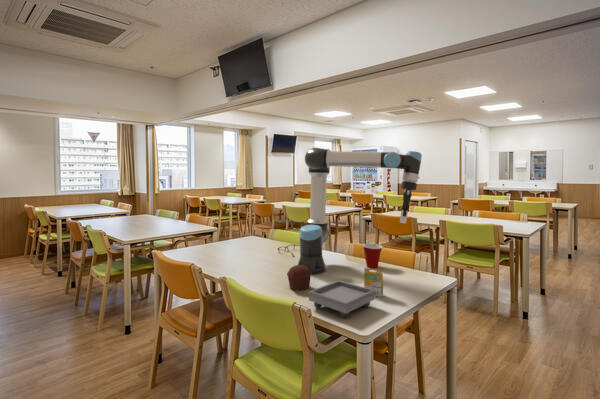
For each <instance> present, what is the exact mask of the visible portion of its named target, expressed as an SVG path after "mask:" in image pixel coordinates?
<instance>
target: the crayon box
mask: <svg viewBox="0 0 600 399" xmlns="http://www.w3.org/2000/svg"><path fill="white" fill-rule="evenodd" d="M363 271H364V273H363V274H364V276H363V277H364V278H363V279H364V281H363V282H364V285H363V287H365V288H368V289H372V290H375V297H379V298H382V297H383V295H384V289H383V288H384V283H383V282H384V278H383V277H384V275H383V274H384V273H383V272H382V269H377V268H368V267H367V268H366V267H364V270H363Z"/></svg>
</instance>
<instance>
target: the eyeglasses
mask: <svg viewBox="0 0 600 399" xmlns="http://www.w3.org/2000/svg"><path fill="white" fill-rule="evenodd" d="M290 246H291V244H289V245H287V246H284V249H283V251H284V252H286V251H287V250H288V251H287V252H288V253H290V254H291V255H292V257H293V258H295V255H294V254H293V253H292V252H290V251H289V247H290ZM295 246H299V247H300V244H299V245H298V244H293V251H294V250H295ZM280 248H282V246H280V247H278V248H277V250H278V253H281V252H280V251H282V249H280Z"/></svg>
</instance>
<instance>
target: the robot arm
mask: <svg viewBox="0 0 600 399" xmlns="http://www.w3.org/2000/svg"><path fill="white" fill-rule="evenodd" d="M422 157H423V154H422V153H421V152H418V151H412V150H409V151H407V152H406V154H402V153H401V154H400V153H398V152H396V151H340V150H339V151H333V150H331V149H329V148H328V149H325V148H321V147H320V148H319V147H312V148H310V149H308V151H307V152H306V153H305V156H304V162H305V165H306V166H307V167H308V174H309V175H310V203H309V204H310V205H309V206H310V207H309V219H308V220H307V221H306V225H303V226H301V227H300V229H299V234H298V235H299V245H300V246H299V254H300V255H299V260H298V263H297V265H303V266H305V267H307V268H308V269H309V270H310V271H311V273H312V274H311V275H318V274H323V273H325V272H326V269H327V267H326V266H327V265H326V263H325V261H324V257H323V244H324V243H326V241H327V240H328V239H329V236H330V231H329V227H328V226H329V223H328V221H327V219H326V208H327V206H326V205H327V177H328V175H330V168H331V167H338V168H339V167H341V168H342V167H343V168H345V167H346V168H348V167H349V168H378V169H379V168H380V169H381V168H384V169H399V170H403V173H402V179H401V180H402V182H401V184H400V185H401V186H400V188H401V189H402V190H405V191H404V192H403V194H402V196H403V198H402V200H403V202H402V207H401V212H400V216H399V218H400V219H399V223H400V224H407V220H408V214H409V213H408V212H409V206H410V201H411V200H412V199H411V198H412V195H413V194H412V191H413V192H414V191H416V190H417V187H418V184H417V183H418V180H419V179H420V176H419V174H420V170H421V165H422V164H421V163H422Z"/></svg>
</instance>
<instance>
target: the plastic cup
mask: <svg viewBox="0 0 600 399" xmlns="http://www.w3.org/2000/svg"><path fill="white" fill-rule="evenodd" d="M362 247H363V253H364V259H365V264H366V267H367V268H369V269H377V268H378V267H379V262H380V257H381V253H382V249H383V247H384V246H383V245H380V244H377V243H363V244H362Z"/></svg>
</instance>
